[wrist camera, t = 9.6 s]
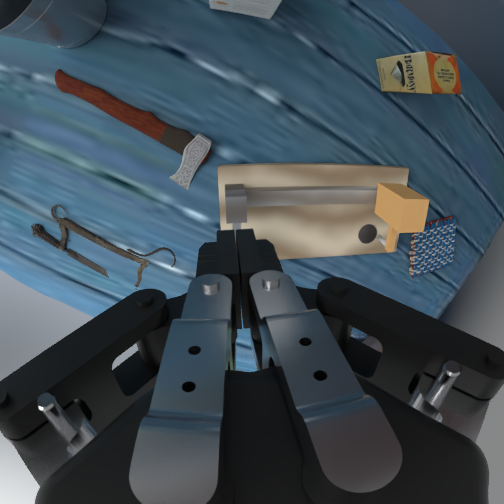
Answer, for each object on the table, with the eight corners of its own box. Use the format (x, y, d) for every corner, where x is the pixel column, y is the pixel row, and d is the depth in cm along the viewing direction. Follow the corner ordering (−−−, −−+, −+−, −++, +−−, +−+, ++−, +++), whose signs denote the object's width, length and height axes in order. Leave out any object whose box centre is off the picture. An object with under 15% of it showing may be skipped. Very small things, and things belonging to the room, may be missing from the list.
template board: (217, 165, 39) (217, 177, 33) (404, 167, 42) (430, 179, 35) (222, 258, 46) (223, 284, 40) (392, 248, 48) (412, 269, 42)
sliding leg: (375, 180, 40) (404, 198, 33) (398, 181, 40) (429, 199, 33) (367, 240, 44) (391, 267, 37) (389, 239, 44) (415, 264, 37)
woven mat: (406, 276, 52) (411, 281, 50) (408, 224, 47) (414, 228, 45) (448, 262, 52) (453, 267, 50) (452, 212, 47) (459, 216, 45)
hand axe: (33, 127, 33) (56, 64, 29) (39, 125, 35) (63, 64, 30) (185, 210, 41) (222, 149, 37) (187, 205, 43) (223, 146, 39)
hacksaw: (32, 230, 41) (27, 234, 39) (49, 176, 37) (44, 178, 36) (152, 300, 49) (150, 306, 47) (181, 254, 45) (180, 258, 44)
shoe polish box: (403, 59, 34) (455, 54, 23) (409, 90, 36) (461, 94, 25) (376, 59, 34) (425, 51, 23) (381, 91, 36) (432, 93, 26)
